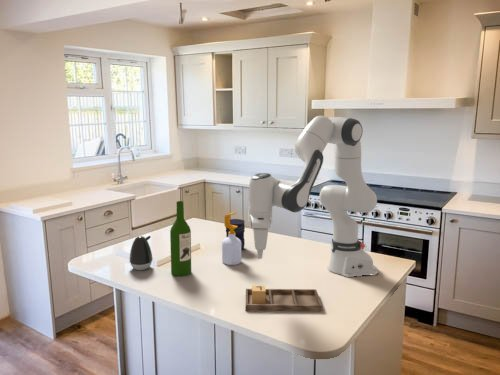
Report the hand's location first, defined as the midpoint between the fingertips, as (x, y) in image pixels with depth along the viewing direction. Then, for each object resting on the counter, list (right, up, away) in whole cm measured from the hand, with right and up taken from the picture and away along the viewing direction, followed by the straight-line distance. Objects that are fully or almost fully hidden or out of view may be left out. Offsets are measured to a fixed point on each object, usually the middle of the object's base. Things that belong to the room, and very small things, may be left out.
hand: (259, 253), depth 156 cm
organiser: (+9, -19, +4) cm, 21 cm away
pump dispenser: (-53, -13, +36) cm, 66 cm away
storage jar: (-11, -8, +64) cm, 65 cm away
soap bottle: (-12, -11, +45) cm, 48 cm away
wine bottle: (-34, -14, +31) cm, 48 cm away
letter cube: (0, -18, +4) cm, 19 cm away
